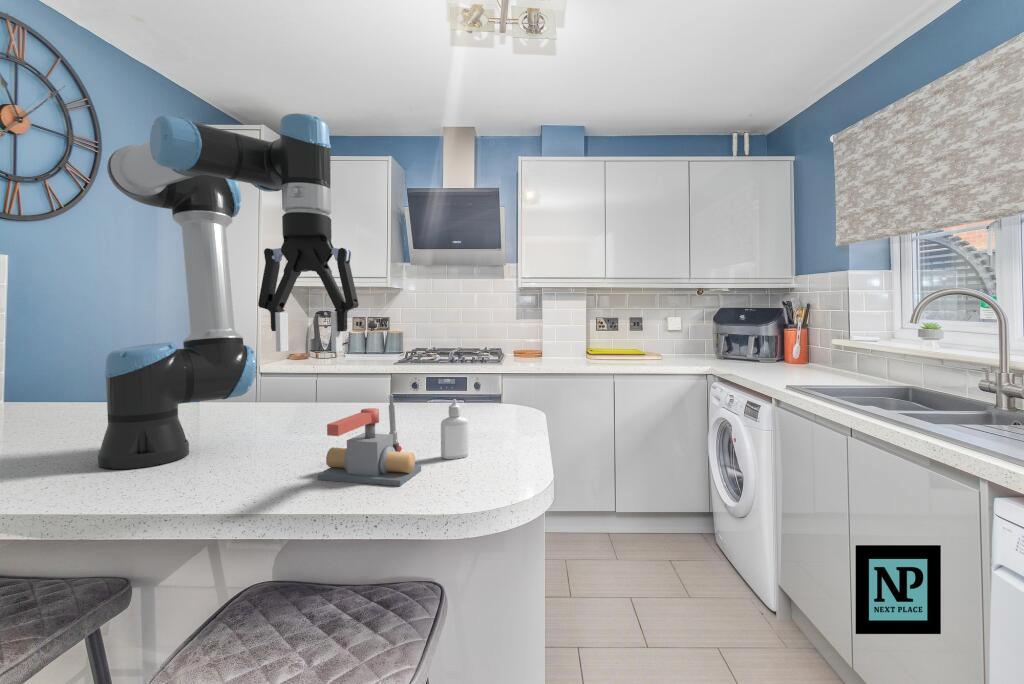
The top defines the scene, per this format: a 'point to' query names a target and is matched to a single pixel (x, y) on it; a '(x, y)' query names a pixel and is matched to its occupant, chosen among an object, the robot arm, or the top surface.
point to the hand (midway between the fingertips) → (309, 351)
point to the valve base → (370, 461)
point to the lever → (353, 422)
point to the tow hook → (393, 425)
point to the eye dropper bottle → (454, 434)
